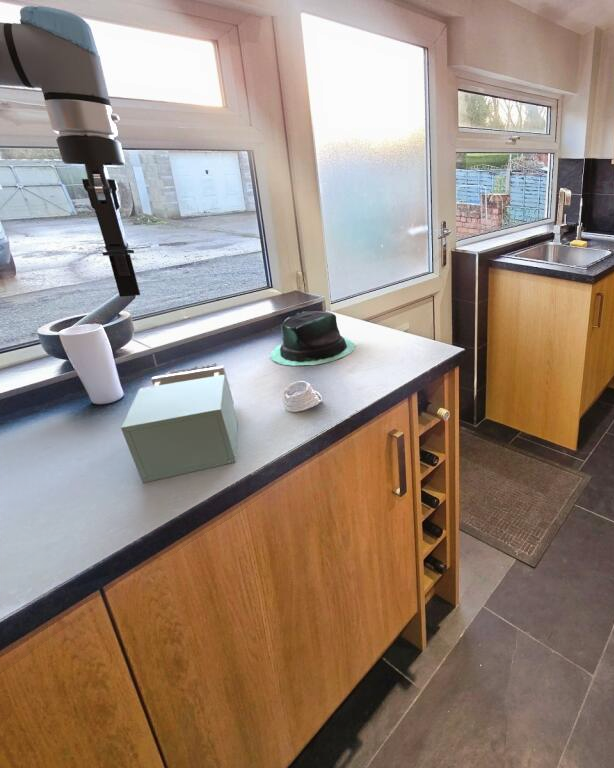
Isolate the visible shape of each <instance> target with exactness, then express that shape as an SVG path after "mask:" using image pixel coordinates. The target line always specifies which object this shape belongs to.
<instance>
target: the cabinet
mask: <svg viewBox="0 0 614 768" xmlns="http://www.w3.org/2000/svg"><path fill="white" fill-rule="evenodd" d="M238 424H239V421H238V418H237V414H236V411H235V407H234V405H233V403H232V400H231V396H230V392H229V389H228V385H227V382H226V378H225V375H219V376H213V377H207V378H201V379H195V380H189V381H182V382H176V383H170V384H164V385H158V386H153V385H152V386H147V387H140V388H138V390H137V392H136V395H135V397H134V399H133V401H132V403H131V405H130V407H129V410H128V412H127V413H126V416H125V418H124V419H123V422H122V425H121V427H120V429H121V432H122V435H123V438H124V439H125V443H126V445H127V447H128V449H129V453H130V454H131V458H132V460H133V462H134V465H135V467H136V470H137V472H138V475H139V477H140V480H141V482H142V483H141V484H144V483H149V482H153V481H158V480H162V479H166V478H171V477H176V476H180V475H184V474H188V473H189V474H190V473H193V472H198V471H202V470H207V469H211V468H215V467H220V466H223V465H228V464H234V463H236V462H237V448H238Z"/></svg>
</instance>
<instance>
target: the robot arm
mask: <svg viewBox="0 0 614 768" xmlns="http://www.w3.org/2000/svg"><path fill="white" fill-rule="evenodd" d="M19 16H20V19H19V23H16V22H13V23H11V22H0V86H4V87H5V86H6V87H19V88H20V87H22V88H29V89H41V92H42V95H43V99H44V105H45V108H46V111H47V115H48V119H49V122H50V126H51V129H52V131H53V132H55V133H56V134H58V135H59V136H57V137H56V139H55V141H56V144H57V148H58V151H59V155H60V159H61V162H62V163H64V164H65V165H68V166H76V167H84V169H85V172H86V177H87V178H81V181H82V186H83V188H84V190H85V191H86V192H87V195H88V199H89V203H90V206H91V208H92V209H93V210H94V212H95V215H96V219H97V223H98V225H99V229H100V232H101V236H102V239H103V242H104V249H105V251H102V252H101V253H102V256H103V257H108V259H109V262H110V266H111V269H112V273H113V274H112V275H113V277H114V281H115V283H116V288H117V291H118V295H119V297H120V298H121V297H132V296H133V297H134V296H135V297H136V296H141V292H140V287H139V284H138V278H137V276H136V272H135V268H134V264H133V261H132V257H131V256H132V255H131V254H135V249H134V248H129V242H127V238H126V234H125V230H124V226H123V221H122V218H121V213H120V209H121V203H120V198H119V195H118V191H119V187H118V183H117V179H115V178H110V176H109V172H108V169H107V168H122V167H124V166H125V165H126V161H125V156H124V153H123V148H122V143H121V142H119V140H118V139H114V138H115V137H117V136H118V129H117V125H116V123H115V122H119V121H120V116H119V115H118V114H116V113H112V112H113V109H112V105H111V100H110V96H109V92H108V87H107V84H106V78H105V75H104V71H103V70H104V69H103V65H102V61H101V56H100V55H99V51H98V48H97V46H96V41H95V38H94V35H93V32H92V29H91V26H90V24H89V23H88V22H87V21H86V20H85V19H83V18H82V17H80V16H79V15H77V14H76V13H73V12H70V11H66V10H64V9H59V8H56V7H51V6H42V5H40V6H35V5H27V6H26V5H25V6H24V7H23V6H22V7H21V8H20V10H19Z"/></svg>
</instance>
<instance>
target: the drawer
mask: <svg viewBox="0 0 614 768" xmlns="http://www.w3.org/2000/svg"><path fill="white" fill-rule="evenodd" d="M219 375H225V378H226V382H227V385H228V389H229V392H230V396H231V400H232V403H233V406H234V404H235V401H234V398H233V397H234V396H233V394H232V391H231V387H230V383H229V380H228V376H227V373H226V369H225V366H224V365H220V366H217V367H212V368H206V369H199V370H193V371H187V372H180V373H174V374H167V375H164V374H162V375H156V376H152V377H151V383H152V386H158V385H164V384H170V383H176V382H182V381H189V380H195V379H201V378H207V377H213V376H219Z"/></svg>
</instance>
